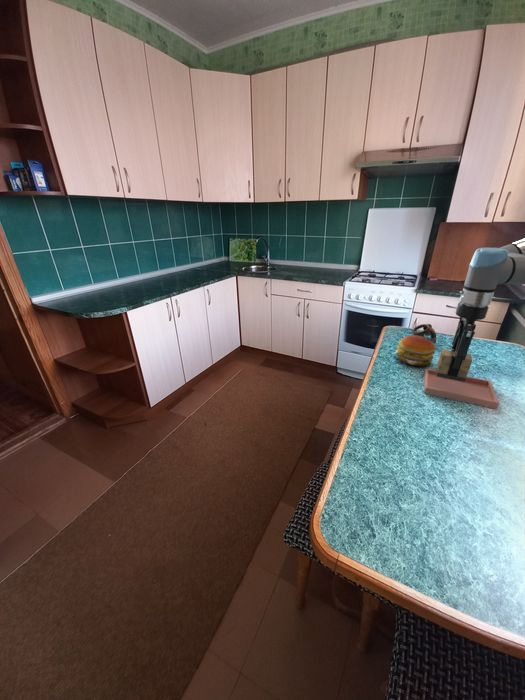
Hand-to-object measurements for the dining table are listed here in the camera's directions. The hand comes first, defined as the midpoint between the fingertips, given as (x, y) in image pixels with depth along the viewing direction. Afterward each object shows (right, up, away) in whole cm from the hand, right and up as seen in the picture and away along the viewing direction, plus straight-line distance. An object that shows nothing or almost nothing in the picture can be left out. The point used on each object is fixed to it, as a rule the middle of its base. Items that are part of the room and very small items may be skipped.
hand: (451, 371), depth 96 cm
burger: (-2, +3, +20) cm, 20 cm away
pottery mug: (+12, +12, +37) cm, 41 cm away
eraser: (0, -1, +1) cm, 2 cm away
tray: (+3, -6, +2) cm, 7 cm away
